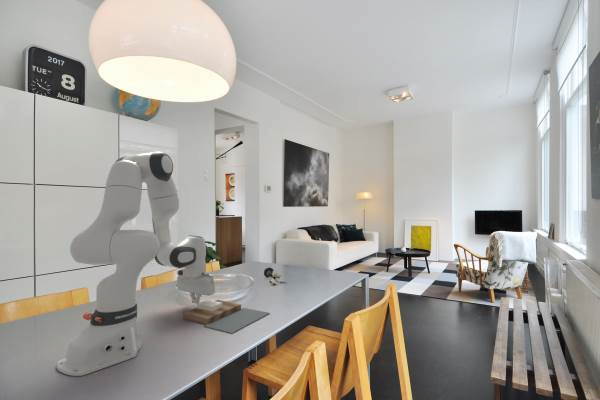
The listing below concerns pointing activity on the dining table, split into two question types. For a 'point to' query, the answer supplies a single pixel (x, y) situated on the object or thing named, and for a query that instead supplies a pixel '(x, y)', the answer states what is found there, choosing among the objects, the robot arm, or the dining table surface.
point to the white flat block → (209, 305)
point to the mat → (236, 320)
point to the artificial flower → (270, 272)
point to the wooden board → (211, 313)
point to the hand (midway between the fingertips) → (195, 302)
